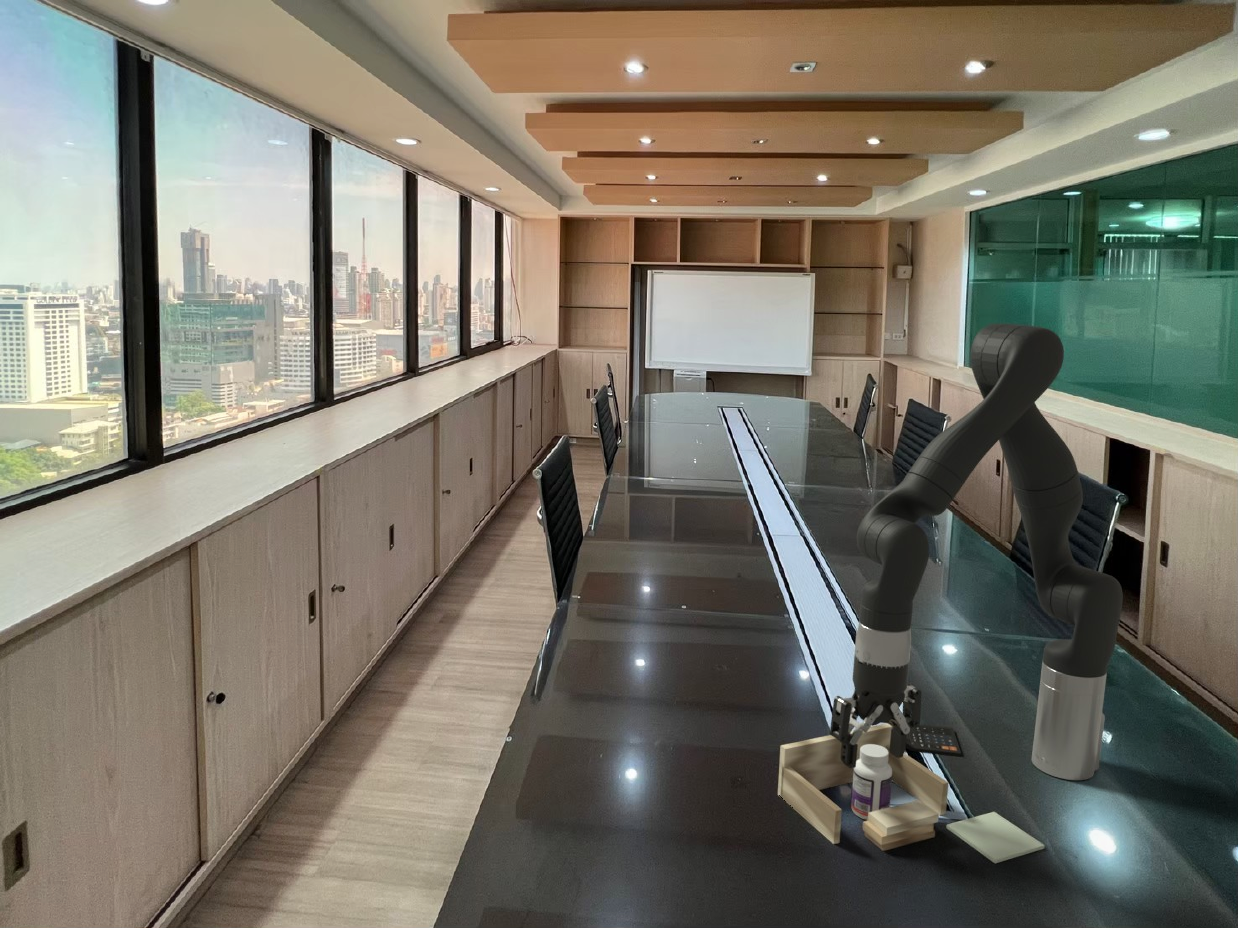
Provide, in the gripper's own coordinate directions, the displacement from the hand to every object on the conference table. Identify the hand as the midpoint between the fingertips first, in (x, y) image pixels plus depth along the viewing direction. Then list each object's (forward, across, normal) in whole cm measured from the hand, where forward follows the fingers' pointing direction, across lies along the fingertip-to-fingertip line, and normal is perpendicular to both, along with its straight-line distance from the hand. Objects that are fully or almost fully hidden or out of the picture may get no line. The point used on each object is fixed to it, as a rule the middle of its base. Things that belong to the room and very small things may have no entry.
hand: (872, 760), depth 133 cm
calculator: (+8, -23, -15) cm, 29 cm away
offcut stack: (+8, 0, +6) cm, 11 cm away
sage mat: (+8, -12, +12) cm, 19 cm away
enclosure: (+8, 0, -2) cm, 9 cm away
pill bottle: (+8, 0, 0) cm, 8 cm away
